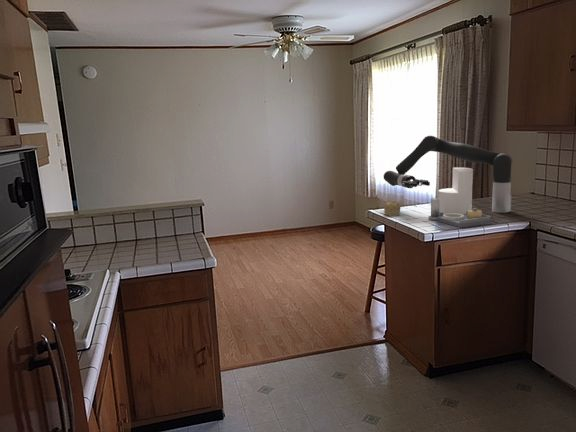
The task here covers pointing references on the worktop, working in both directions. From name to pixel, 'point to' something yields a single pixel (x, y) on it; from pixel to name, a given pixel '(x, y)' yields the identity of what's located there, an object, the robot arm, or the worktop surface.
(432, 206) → the grey block on base
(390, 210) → the decorative item
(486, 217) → the carrier
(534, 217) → the worktop surface
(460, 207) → the white stepped tower
